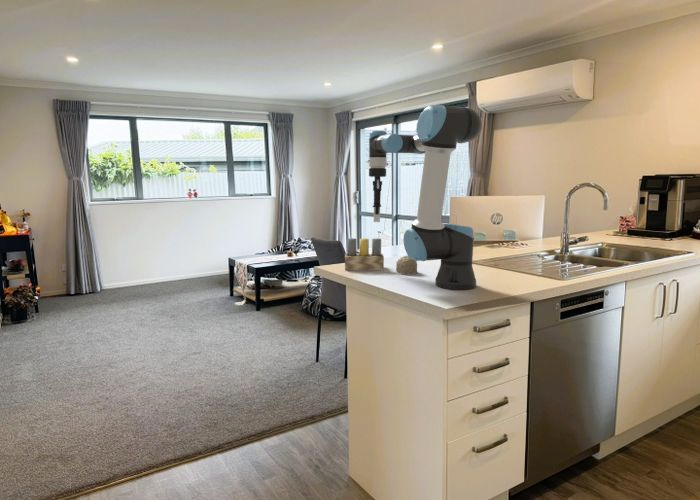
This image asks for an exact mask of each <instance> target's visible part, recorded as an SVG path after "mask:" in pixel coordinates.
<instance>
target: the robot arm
mask: <svg viewBox="0 0 700 500" xmlns="http://www.w3.org/2000/svg"><path fill="white" fill-rule="evenodd" d="M482 129H483V121H482V118H481V116H480V113H478V112H477V111H476V110H475V109H473V108H471V107H466V106H454V105H443V104H435V105H429V106H428V105H427V107H425V108H424V109H423V111H421V113H420V114H419V117H418V119H417V123H416V134H398V133H387V131H386V130H371V131H370V133H369V138H368V142H369V143H368V146H369V147H368V149H369V150H368V154H369V155H368V156H369V157H368V159H367V162H368V166H369V169H368V176H369V177H371V178H373V177H374V180H372V186H373V187H372V190H373V205H372V208H373V223H380V222H381V207H382V205H381V197H382V196H381V194H382V193H381V192H382V186H383V181H382V180H381V178H385V177H386V176H387V168H386V167H387V160H388V159H387V154H417V155H423V154H424V157H423V158H424V159H423V165H422V166H423V167H422V175H421V184H420V190H419V191H420V192H419V198H418V207H417V212H416V213H417V215H416V219H413V220H412V222H411V228H408V229H406V230H405V231H404V234H403V247H404V250H405V252H406V256H409V257H410V258H411V259H412V260H414V261H416V262H426V261H436V260H437V261H438V260H440V265H439V268H438V270H437V271H438V272H437V275H436V277H435V283H434V284H435V286H437V287H439V288H442V289H446V290H447V289H448V290H457V291H459V290H462V291H463V290H464V291H465V290H472V289H474V288H477V279H476V275H475V271H474V268H473V254H474V253H473V251H474V240H475V237H474V229H473V227H472V226H471V227H470V226H466V225H459V224H453V223H443V222H442V215H443V209H444V203H445V202H444V201H445V195H446V189H447V182H448V174H449V168H450V167H449V166H450V160H451V154H452V153H454V151H455V150H456V149H457V144H465V143H469V142H472V141H474V140H476V139H477V138H478V137H479V136H480V134H481V132H482Z"/></svg>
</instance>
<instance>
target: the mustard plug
mask: <svg viewBox="0 0 700 500" xmlns="http://www.w3.org/2000/svg"><path fill="white" fill-rule="evenodd" d="M369 245H370V238H359V254H360V256H369V254H370V252H369V250H370V246H369Z"/></svg>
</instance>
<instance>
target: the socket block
mask: <svg viewBox="0 0 700 500" xmlns="http://www.w3.org/2000/svg"><path fill="white" fill-rule="evenodd" d="M344 254H345V255H344V271H384V269H385V267H384V266H385V265H384V264H385V259H384V254H383V253H381V256H372V253H369V256H360V253H356V256H347V253H344Z"/></svg>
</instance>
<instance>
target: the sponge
mask: <svg viewBox="0 0 700 500" xmlns="http://www.w3.org/2000/svg"><path fill="white" fill-rule="evenodd" d="M395 267H396V269H395V271H396V273H397V274H399V275H415V274H417V273H418V261H414V260H412V259H411V258H410V257H409V256H408V255H404V256H401V257H400V258H399V259H397V261H396V266H395Z"/></svg>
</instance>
